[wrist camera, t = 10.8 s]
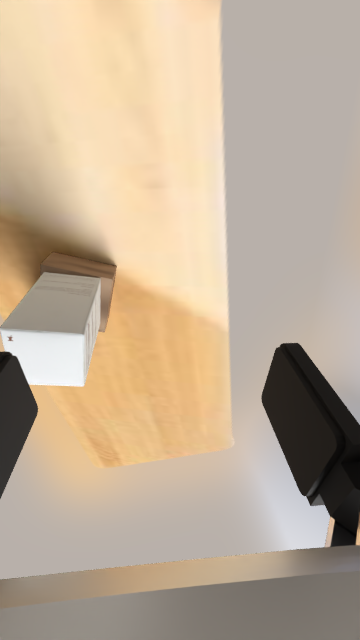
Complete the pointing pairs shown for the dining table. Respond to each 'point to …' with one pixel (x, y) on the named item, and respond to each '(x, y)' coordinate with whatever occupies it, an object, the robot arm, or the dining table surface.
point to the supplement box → (55, 329)
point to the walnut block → (88, 269)
